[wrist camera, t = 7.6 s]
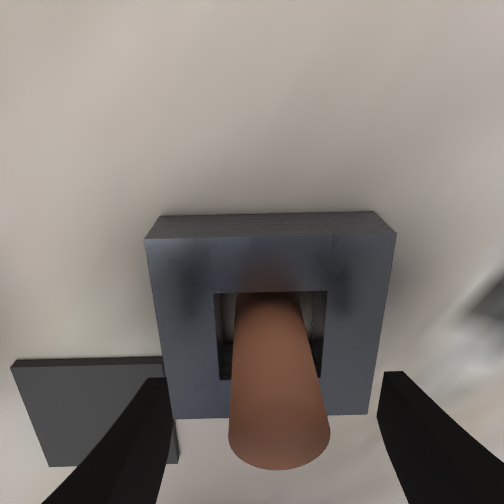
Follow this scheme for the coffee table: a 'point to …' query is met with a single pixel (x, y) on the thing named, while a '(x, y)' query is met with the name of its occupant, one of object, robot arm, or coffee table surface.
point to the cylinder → (274, 385)
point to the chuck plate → (269, 280)
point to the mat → (81, 401)
